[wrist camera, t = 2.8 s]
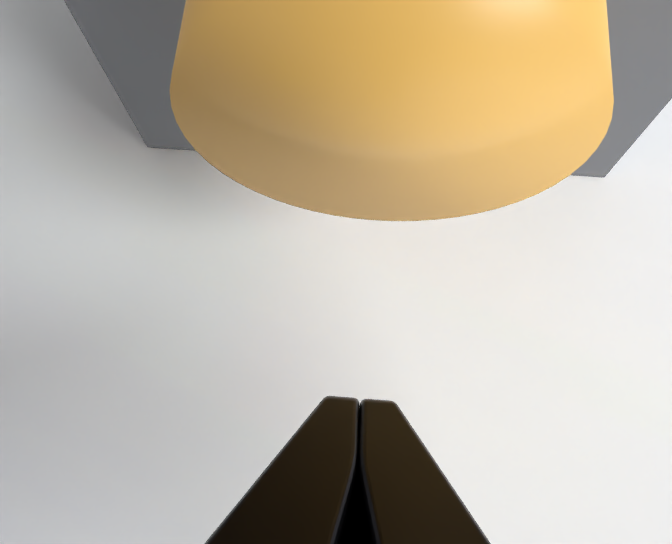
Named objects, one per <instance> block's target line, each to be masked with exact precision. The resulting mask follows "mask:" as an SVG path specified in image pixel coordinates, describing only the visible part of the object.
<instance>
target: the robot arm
mask: <svg viewBox="0 0 672 544" xmlns="http://www.w3.org/2000/svg"><path fill="white" fill-rule="evenodd" d="M359 407H360V408H359ZM205 544H491V543H490V542H489V541H488V539H487V538H486V536H485V535H484V533H483V532H482V530H481V529H480V527H479V526H478V524H477V523H476V521H475V520H474V518H473V517H472V515H471V514H470V512H469V511H468V509H467V508H466V506H465V505H464V503H463V502H462V500H461V499H460V497H459V496H458V495H457V493H456V492H455V490H454V489H453V487H452V486H451V484H450V483H449V481H448V480H447V478H446V477H445V475H444V474H443V472H442V471H441V469H440V468H439V466H438V465H437V463H436V462H435V460H434V459H433V457H432V456H431V454H430V453H429V451H428V450H427V448H426V447H425V446H424V444H423V443H422V441H421V440H420V438H419V437H418V435H417V434H416V432H415V431H414V429H413V428H412V426H411V425H410V423H409V422H408V420H407V419H406V417H405V416H404V414H403V413H402V411H401V410H400V408H399V407H398V405H397V404H396V403H394V402H393V401H387V400H374V399H364V400H362V401H361V403H360V405H359V401H358V400H357V399H356V398H349V397H337V396H327V397H325V398H324V399H323V400H322V401H321V402H320V403H319V405H318V406H317V407H316V408H315V409H314V411H313V412H312V413H311V414H310V416H309V417H308V418H307V419H306V420H305V422H304V423H303V424H302V425H301V427H300V428H299V429H298V430H297V431H296V433H295V434H294V435H293V436H292V438H291V439H290V440H289V441H288V442H287V444H286V445H285V446H284V447H283V449H282V450H281V451H280V452H279V453H278V455H277V456H276V457H275V458H274V460H273V461H272V462H271V463H270V464H269V466H268V467H267V468H266V469H265V471H264V472H263V473H262V474H261V475H260V477H259V478H258V479H257V480H256V481H255V483H254V484H253V485H252V486H251V488H250V489H249V490H248V491H247V492H246V494H245V495H244V496H243V497H242V499H241V500H240V501H239V502H238V503H237V505H236V506H235V507H234V508H233V510H232V511H231V512H230V513H229V514H228V516H227V517H226V518H225V519H224V521H223V522H222V523H221V524H220V525H219V527H218V528H217V529H216V530H215V532H214V533H213V534H212V535H211V536H210V538H209V539H208V540H207V541H206V543H205Z"/></svg>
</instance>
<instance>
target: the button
mask: <svg viewBox="0 0 672 544" xmlns="http://www.w3.org/2000/svg"><path fill="white" fill-rule="evenodd" d="M170 100H171V107H172V110H173V113H174V116H175V119H176V122H177V124H178V126H179V128H180V129H181V131H182V133H183V135H184V136H185V138H186V139H187V140H188V141H189V143H190V144H191V145H192V146H193V148H194V149H195V150H196V151H197V152H198V153H199V154H200V155H201V156H202V157H203V158H204V159H205V160H206V161H207V162H209V163H210V164H211V165H212V166H214V167H215V168H216V169H218V170H219V171H220V172H222V173H223V174H225V175H226V176H228V177H230V178H231V179H233V180H235V181H236V182H238V183H240V184H242V185H244V186H245V187H247V188H249V189H251V190H253V191H255V192H258V193H260V194H263V195H265V196H267V197H270V198H272V199H275V200H278V201H281V202H284V203H287V204H290V205H293V206H296V207H300V208H304V209H307V210H311V211H315V212H320V213H325V214H330V215H335V216H342V217H349V218H357V219H367V220H382V221H421V220H436V219H445V218H453V217H460V216H466V215H471V214H477V213H481V212H485V211H489V210H493V209H497V208H501V207H504V206H507V205H510V204H513V203H516V202H519V201H521V200H524V199H526V198H529V197H531V196H534V195H536V194H538V193H540V192H542V191H544V190H546V189H548V188H550V187H552V186H554V185H555V184H557V183H558V182H560V181H561V180H563V179H565V178H566V177H568V176H569V175H571V174H572V173H573V172H574V171H575V170H577V169H578V168H579V167H580V166H581V165H583V164H584V163H585V162H586V161H587V160H588V158H589V157H590V156H591V155H592V154H593V153H594V152H595V151H596V150H597V148H598V146H599V145H600V143H601V142H602V140H603V138H604V137H605V135H606V133H607V130H608V128H609V125H610V122H611V119H612V113H613V104H614V96H613V83H612V70H611V56H610V43H609V30H608V17H607V3H606V0H186V2H185V8H184V13H183V18H182V23H181V28H180V33H179V39H178V44H177V49H176V54H175V59H174V64H173V70H172V75H171V83H170Z"/></svg>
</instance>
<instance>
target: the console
mask: <svg viewBox="0 0 672 544" xmlns="http://www.w3.org/2000/svg"><path fill="white" fill-rule="evenodd" d="M64 1H65V3H66V5H67V6H68V8H69V10H70V12H71V13H72V15H73V17H74V19H75V20H76V22H77V24H78V26H79V27H80V29H81V31H82V33H83V34H84V36H85V38H86V40H87V41H88V43H89V45H90V47H91V48H92V50H93V52H94V54H95V55H96V57H97V59H98V61H99V62H100V64H101V66H102V68H103V70H104V71H105V73H106V75H107V77H108V78H109V80H110V82H111V84H112V85H113V87H114V89H115V91H116V92H117V94H118V96H119V98H120V99H121V101H122V103H123V105H124V106H125V108H126V110H127V112H128V113H129V115H130V117H131V119H132V120H133V122H134V124H135V126H136V127H137V129H138V131H139V133H140V134H141V136H142V138H143V140H144V141H145V143H146V145H147V147H157V148H172V149H187V150H195V149H194V148H193V146H192V145H191V144H190V143H189V141H188V140H187V139H186V138H185V136H184V135H183V133H182V131H181V129H180V128H179V126H178V124H177V122H176V119H175V116H174V113H173V110H172V107H171V100H170V83H171V75H172V70H173V64H174V59H175V54H176V49H177V44H178V39H179V33H180V28H181V23H182V18H183V13H184V8H185V2H186V0H64ZM606 3H607V17H608V30H609V43H610V56H611V70H612V83H613V96H614V104H613V113H612V119H611V122H610V125H609V128H608V130H607V133H606V135H605V137H604V138H603V140H602V142H601V143H600V145H599V146H598V148H597V150H596V151H595V152H594V153H593V154H592V155H591V156H590V157H589V158H588V160H587V161H586V162H585V163H584V164H583V165H581V166H580V167H579V168H578V169H577V170H575V171H574V172H573V173H572V174H571V175H579V176H594V177H605V176H606V175H607V174H608V172H609V171H610V170H611V169H612V168H613V166H614V165H615V164H616V163H617V162H618V161H619V159H620V158H621V157H622V156H623V155H624V154H625V152H626V151H627V150H628V149H629V148H630V147H631V145H632V144H633V143H634V142H635V141H636V140H637V138H638V137H639V136H640V135H641V134H642V133H643V131H644V130H645V129H646V128H647V127H648V125H649V124H650V123H651V122H652V121H653V120H654V118H655V117H656V116H657V115H658V114H659V113H660V111H661V110H662V109H663V108H664V107H665V106H666V104H667V103H668V102H669V101H670V100H671V99H672V0H606Z"/></svg>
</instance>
